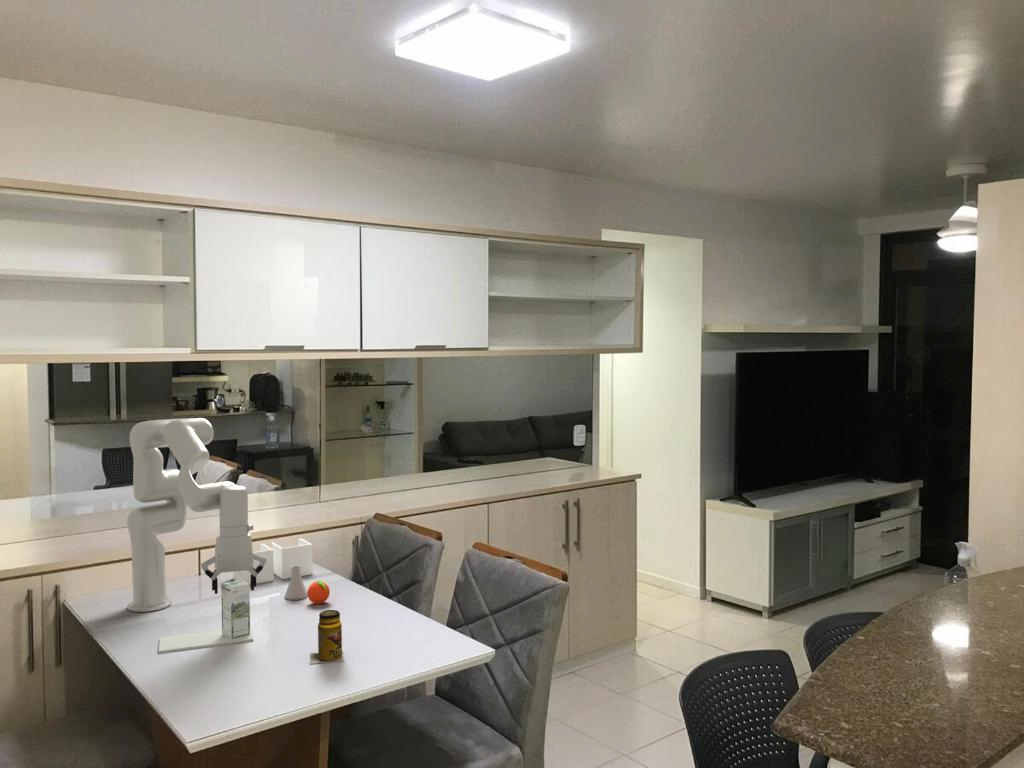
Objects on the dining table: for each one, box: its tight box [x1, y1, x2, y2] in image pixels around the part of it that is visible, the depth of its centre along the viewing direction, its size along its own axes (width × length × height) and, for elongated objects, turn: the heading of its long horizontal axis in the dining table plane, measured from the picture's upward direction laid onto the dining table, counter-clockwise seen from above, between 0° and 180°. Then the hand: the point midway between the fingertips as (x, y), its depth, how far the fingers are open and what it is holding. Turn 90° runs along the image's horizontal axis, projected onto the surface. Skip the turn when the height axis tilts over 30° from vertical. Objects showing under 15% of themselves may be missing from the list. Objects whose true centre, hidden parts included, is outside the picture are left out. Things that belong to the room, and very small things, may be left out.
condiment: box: [309, 609, 345, 665], centre depth 218 cm, size 7×8×12 cm
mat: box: [158, 626, 254, 654], centre depth 232 cm, size 11×24×1 cm, turn 111°
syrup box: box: [220, 580, 251, 639], centre depth 235 cm, size 6×6×14 cm
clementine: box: [307, 580, 331, 605], centre depth 265 cm, size 8×7×7 cm
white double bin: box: [232, 538, 314, 586], centre depth 297 cm, size 25×11×11 cm, turn 124°
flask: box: [284, 566, 308, 601], centre depth 272 cm, size 7×7×10 cm
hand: (234, 590), depth 235 cm, fingers open, 9 cm apart
